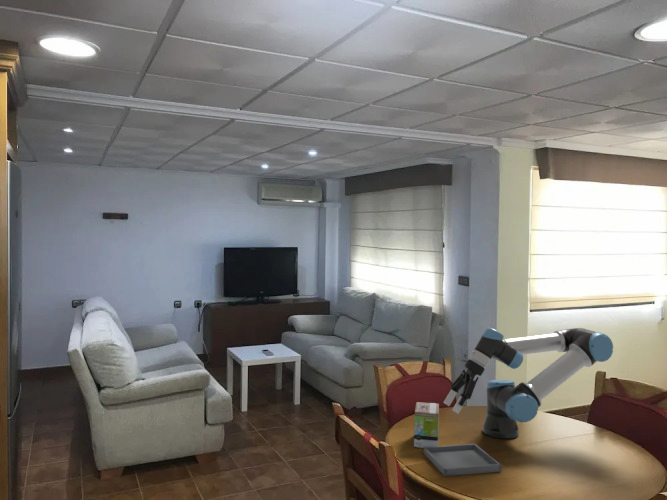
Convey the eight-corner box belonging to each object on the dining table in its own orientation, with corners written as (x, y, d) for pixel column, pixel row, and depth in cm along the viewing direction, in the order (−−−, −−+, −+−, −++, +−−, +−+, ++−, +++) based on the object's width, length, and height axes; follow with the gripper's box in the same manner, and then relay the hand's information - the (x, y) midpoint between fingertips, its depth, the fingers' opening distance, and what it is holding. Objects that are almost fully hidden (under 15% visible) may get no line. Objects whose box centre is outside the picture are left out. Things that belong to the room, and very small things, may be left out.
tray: (474, 449, 218) (474, 443, 218) (501, 471, 197) (501, 464, 197) (423, 453, 213) (423, 447, 213) (444, 476, 193) (444, 469, 193)
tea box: (438, 449, 218) (438, 413, 218) (413, 447, 220) (413, 411, 220) (438, 436, 233) (439, 402, 232) (415, 434, 235) (415, 401, 234)
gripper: (460, 354, 233) (435, 397, 231) (479, 362, 208) (450, 410, 206) (475, 363, 233) (450, 406, 231) (495, 372, 208) (467, 420, 206)
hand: (450, 408), depth 219 cm, fingers open, 13 cm apart
